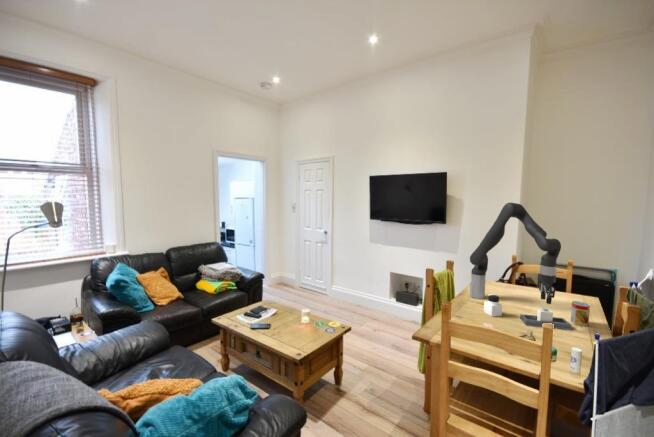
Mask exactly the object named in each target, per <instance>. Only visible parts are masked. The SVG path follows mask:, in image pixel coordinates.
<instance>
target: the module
mask: <svg viewBox="0 0 654 437" xmlns="http://www.w3.org/2000/svg"><path fill="white" fill-rule="evenodd" d="M553 315H554V312H553V311H552V310H550V309H548V308H545V307H544V308H543V307H542V308H537V314H536V316H537V320H540V321H550V322H552V319H553V317H554V316H553Z"/></svg>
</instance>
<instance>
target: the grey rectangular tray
mask: <svg viewBox="0 0 654 437" xmlns="http://www.w3.org/2000/svg"><path fill="white" fill-rule="evenodd" d="M519 319H520V321H521V322H522V323H523V324H524V325H525V326H526V327H534V328H535V327H536V328H537V327H538V328H543V327H542V324H543V323H552V324H554V328H553V329H555V330H564V331H565V330H566V331H572V323H571V322H569V321H567V320H566V319H565V318H563V317H558V316H557V317H555V316H553V319H552V322H550V321H540V320H537V315H533V314H523V313H520V315H519ZM556 328H557V329H556Z"/></svg>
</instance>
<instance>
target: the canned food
mask: <svg viewBox="0 0 654 437" xmlns="http://www.w3.org/2000/svg"><path fill="white" fill-rule="evenodd" d="M570 308H571V309H570V324H573V325H575V326H579V327H588V326H589V323H590V322H589V321H590V309H591V305H590V304H589V303H587V302H584V301H579V300H573V301H571V307H570Z"/></svg>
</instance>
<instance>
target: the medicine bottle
mask: <svg viewBox="0 0 654 437" xmlns="http://www.w3.org/2000/svg"><path fill="white" fill-rule="evenodd" d="M499 302H500V296H499V295H496V294H493V293H492V294H491V293H490V294H488V295H487V300H486V301H484V302H483V303H484V304H483V313H485V314H487V315H488V316H489V317H502V313H503V304H501V303H499Z"/></svg>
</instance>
